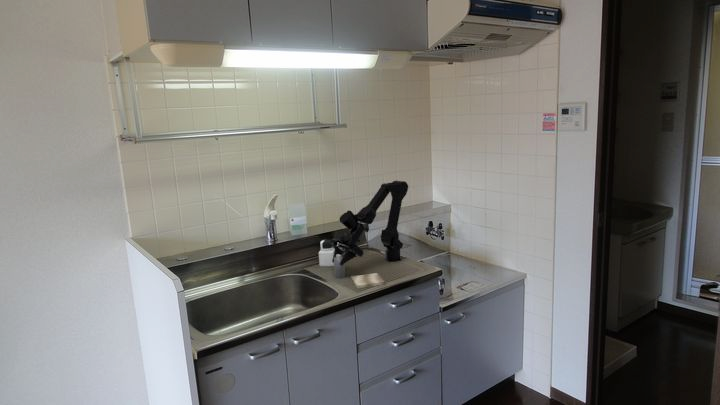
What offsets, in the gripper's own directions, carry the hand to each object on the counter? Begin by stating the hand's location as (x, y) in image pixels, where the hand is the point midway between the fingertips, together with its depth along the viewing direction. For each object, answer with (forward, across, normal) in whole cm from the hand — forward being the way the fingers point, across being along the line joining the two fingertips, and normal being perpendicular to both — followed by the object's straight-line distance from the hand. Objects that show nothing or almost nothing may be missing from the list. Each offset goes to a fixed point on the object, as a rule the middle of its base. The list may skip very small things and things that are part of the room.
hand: (336, 263), depth 210 cm
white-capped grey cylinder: (+4, 0, +6) cm, 7 cm away
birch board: (0, +14, +9) cm, 17 cm away
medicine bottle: (-1, -19, +10) cm, 22 cm away
